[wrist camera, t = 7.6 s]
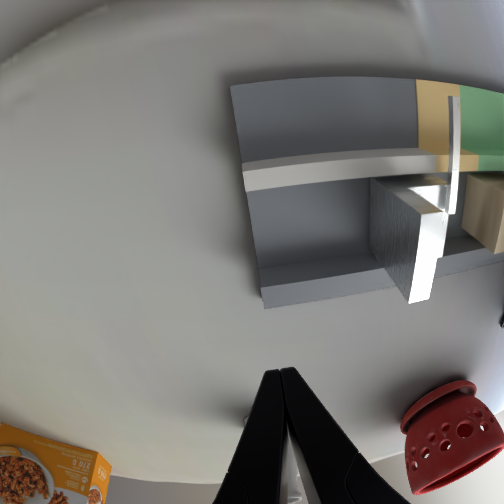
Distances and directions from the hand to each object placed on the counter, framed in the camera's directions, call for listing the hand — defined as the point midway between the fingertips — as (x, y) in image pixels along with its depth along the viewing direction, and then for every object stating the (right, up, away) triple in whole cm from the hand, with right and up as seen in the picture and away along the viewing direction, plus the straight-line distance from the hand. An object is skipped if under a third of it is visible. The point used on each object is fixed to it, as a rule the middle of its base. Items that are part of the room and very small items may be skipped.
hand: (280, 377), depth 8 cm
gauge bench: (+10, +7, +10) cm, 16 cm away
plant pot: (+23, -17, +24) cm, 37 cm away
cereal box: (-36, -31, +28) cm, 55 cm away
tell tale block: (+16, +7, +9) cm, 20 cm away
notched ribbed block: (+8, +8, +8) cm, 14 cm away
